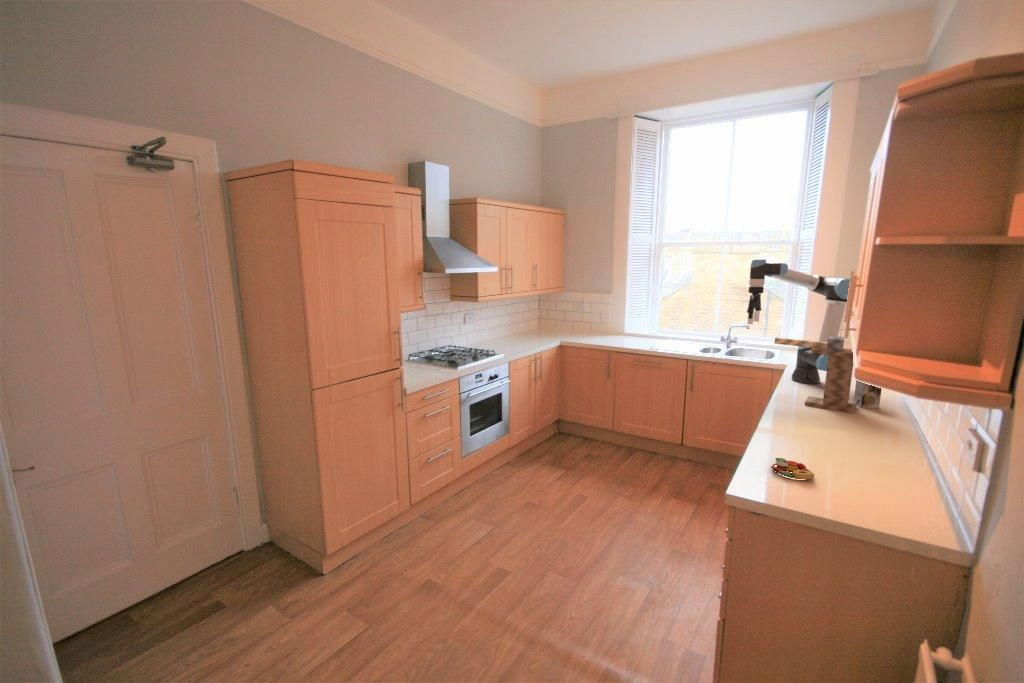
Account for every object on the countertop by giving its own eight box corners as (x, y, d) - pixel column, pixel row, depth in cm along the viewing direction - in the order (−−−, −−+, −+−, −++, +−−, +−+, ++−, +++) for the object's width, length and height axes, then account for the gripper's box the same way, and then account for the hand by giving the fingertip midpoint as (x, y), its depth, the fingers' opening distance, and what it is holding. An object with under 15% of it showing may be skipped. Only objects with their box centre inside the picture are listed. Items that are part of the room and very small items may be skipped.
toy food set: (814, 486, 157) (815, 477, 157) (770, 477, 163) (771, 469, 163) (811, 470, 169) (812, 462, 168) (770, 463, 175) (770, 454, 174)
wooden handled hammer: (772, 344, 247) (774, 333, 246) (777, 341, 255) (778, 331, 254) (840, 351, 228) (842, 339, 227) (843, 348, 235) (844, 337, 234)
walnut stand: (804, 405, 241) (811, 349, 235) (808, 399, 250) (814, 345, 244) (854, 413, 227) (862, 354, 222) (856, 407, 236) (864, 350, 231)
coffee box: (871, 404, 241) (875, 374, 238) (879, 408, 235) (883, 377, 232) (852, 403, 242) (856, 374, 239) (860, 407, 236) (864, 377, 233)
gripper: (754, 284, 275) (751, 320, 279) (743, 287, 257) (740, 324, 261) (768, 285, 271) (765, 321, 274) (758, 287, 252) (754, 326, 256)
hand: (753, 322), depth 268 cm, fingers open, 13 cm apart
